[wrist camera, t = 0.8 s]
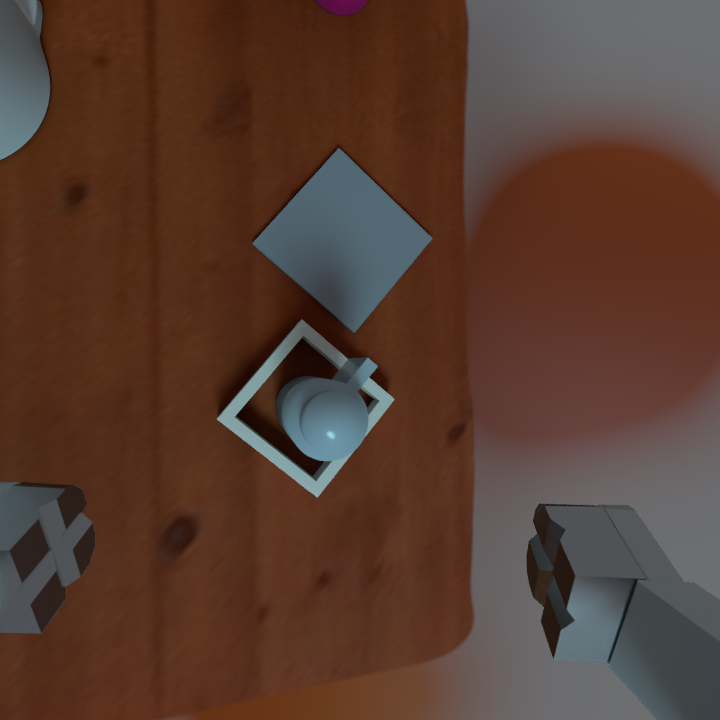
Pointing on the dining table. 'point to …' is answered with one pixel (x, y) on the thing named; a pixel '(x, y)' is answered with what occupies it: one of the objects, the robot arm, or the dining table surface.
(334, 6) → the pepper mill
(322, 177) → the mat
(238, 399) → the holder
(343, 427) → the blue capped bottle
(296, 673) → the dining table surface
